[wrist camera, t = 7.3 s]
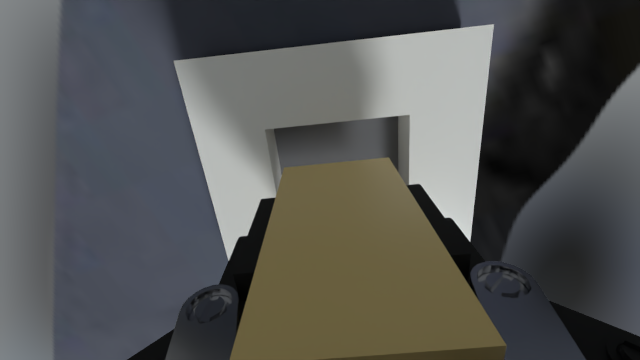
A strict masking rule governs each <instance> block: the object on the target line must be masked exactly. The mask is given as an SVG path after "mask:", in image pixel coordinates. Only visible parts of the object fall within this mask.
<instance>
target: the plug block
mask: <svg viewBox="0 0 640 360" xmlns="http://www.w3.org/2000/svg"><path fill="white" fill-rule="evenodd" d="M506 347H507V345H506V344H505V342H504V340H503V339H502V337H501V336H500V334H499V332H498V331H497V329H496V328H495V326H494V324H493V323H492V321H491V320H490V318H489V316H488V315H487V313H486V312H485V310H484V308H483V307H482V305H481V304H480V302H479V300H478V299H477V297H476V296H475V294H474V293H473V291H472V289H471V288H470V286H469V285H468V283H467V281H466V280H465V278H464V277H463V275H462V273H461V272H460V270H459V269H458V267H457V265H456V264H455V262H454V261H453V259H452V257H451V256H450V254H449V253H448V251H447V249H446V248H445V246H444V245H443V243H442V241H441V240H440V238H439V237H438V235H437V233H436V232H435V230H434V229H433V227H432V226H431V224H430V222H429V221H428V219H427V218H426V216H425V214H424V213H423V211H422V210H421V208H420V206H419V205H418V203H417V202H416V200H415V198H414V197H413V195H412V194H411V192H410V190H409V189H408V187H407V186H406V184H405V182H404V181H403V179H402V178H401V176H400V174H399V173H398V171H397V170H396V168H395V166H394V165H393V163H392V162H391V160H390V158H389V157H388V158H377V159H367V160H357V161H347V162H336V163H326V164H316V165H306V166H295V167H285V168H284V170H283V173H282V177H281V180H280V184H279V187H278V191H277V194H276V198H275V201H274V205H273V208H272V212H271V215H270V219H269V222H268V226H267V229H266V233H265V237H264V240H263V244H262V247H261V251H260V254H259V258H258V261H257V265H256V268H255V272H254V275H253V279H252V282H251V286H250V289H249V293H248V296H247V300H246V303H245V307H244V310H243V314H242V317H241V321H240V325H239V328H238V332H237V335H236V339H235V342H234V346H233V349H232V353H231V356H230V360H504V357H505V352H506Z"/></svg>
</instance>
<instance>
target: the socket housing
mask: <svg viewBox="0 0 640 360" xmlns="http://www.w3.org/2000/svg"><path fill="white" fill-rule="evenodd" d="M493 27H494V24H492V25H484V26H475V27H466V28H457V29H448V30H440V31H431V32H422V33H413V34H405V35H396V36H387V37H378V38H370V39H361V40H352V41H343V42H334V43H326V44H317V45H308V46H299V47H291V48H282V49H273V50H264V51H256V52H247V53H238V54H229V55H221V56H212V57H203V58H194V59H185V60H177V61H174V64H175V68H176V72H177V75H178V79H179V83H180V86H181V90H182V93H183V97H184V101H185V104H186V108H187V112H188V115H189V119H190V123H191V126H192V130H193V133H194V137H195V141H196V144H197V148H198V152H199V155H200V159H201V162H202V166H203V170H204V173H205V177H206V181H207V184H208V188H209V191H210V195H211V199H212V202H213V206H214V210H215V213H216V217H217V220H218V224H219V228H220V231H221V235H222V239H223V242H224V246H225V249H226V253H227V257H228V260H229V259H230V257H231V254H232V252H233V249H234V247H235V245H236V242H237V240H238V238H239V237H241V236H247V235H248V233H249V230H250V227H251V225H252V222H253V219H254V217H255V214H256V211H257V209H258V206H259V203H260V201H261V199H266V198H276V194H277V191H278V187H279V184H280V180H281V177H282V173H283V170H284V168H285V167H295V166H306V165H316V164H326V163H336V162H347V161H357V160H367V159H377V158H388V157H389V158H390V160H391V162H392V163H393V165H394V166H395V168H396V170H397V171H398V173H399V174H400V176H401V178H402V179H403V181H404V182H405V184H406V185H412V184H420V185H421V186H422V187H423V189H424V190H425V191H426V193H427V194H428V195H429V197H430V198H431V200H432V201H433V202H434V204H435V205H436V206H437V208H438V209H439V211H440V212H441V213H442V215H443V216H444V217H445V218H448V217H449V218H452V219H453V220H454V222H455V223H456V224H457V226H458V227H459V228H460V230H461V231H462V232H463V233H464V235H465V236H466V237H467V239H468V240H469V241H470V238H471V229H472V220H473V211H474V201H475V192H476V183H477V174H478V165H479V155H480V146H481V137H482V128H483V119H484V110H485V100H486V91H487V82H488V73H489V64H490V55H491V45H492V36H493Z"/></svg>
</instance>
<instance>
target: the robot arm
mask: <svg viewBox="0 0 640 360" xmlns="http://www.w3.org/2000/svg"><path fill="white" fill-rule="evenodd" d="M406 186H407V187H408V189H409V190H410V192H411V194H412V195H413V197H414V198H415V200H416V202H417V203H418V205H419V206H420V208H421V210H422V211H423V213H424V214H425V216H426V218H427V219H428V221H429V222H430V224H431V226H432V227H433V229H434V230H435V232H436V233H437V235H438V237H439V238H440V240H441V241H442V243H443V245H444V246H445V248H446V249H447V251H448V253H449V254H450V256H451V257H452V259H453V261H454V262H455V264H456V265H457V267H458V269H459V270H460V272H461V273H462V275H463V277H464V278H465V280H466V281H467V283H468V285H469V286H470V288H471V289H472V291H473V293H474V294H475V296H476V297H477V299H478V300H479V302H480V304H481V305H482V307H483V308H484V310H485V312H486V313H487V315H488V316H489V318H490V320H491V321H492V323H493V324H494V326H495V328H496V329H497V331H498V332H499V334H500V336H501V337H502V339H503V340H504V342H505V344H506V345H507V347H506V352H505V357H504V360H640V337H639V336H637V335H634V334H631V333H629V332H627V331H624V330H622V329H619V328H617V327H614V326H612V325H609V324H607V323H604V322H601V321H599V320H596V319H594V318H591V317H589V316H586V315H584V314H581V313H579V312H576V311H574V310H571V309H569V308H566V307H564V306H561V305H559V304H556V303H553V302H551V301H549V300H548V299H547V297H546V296H545V294H544V293H543V291H542V289H541V288H540V286H539V285H538V283H537V282H536V280H534V278H533V277H532V276H531V275H530V274H528V273H527V272H526V271H524V270H522V269H520V268H518V267H516V266H514V265H511V264H507V263H504V262H496V261H490V262H485V261H484V259H483V258H482V257H481V256H480V254H479V253H478V252H477V250H476V249H475V248H474V246H473V245H472V244H471V243H470V241H469V240H468V239H467V237H466V236H465V235H464V233H463V232H462V231H461V230H460V228H459V227H458V226H457V224H456V223H455V222H454V220H453V219H452V218H449V217H448V218H445V217H444V216H443V215H442V213H441V212H440V211H439V209H438V208H437V206H436V205H435V204H434V202H433V201H432V200H431V198H430V197H429V195H428V194H427V193H426V191H425V190H424V189H423V187H422V186H421V185H420V184H412V185H406ZM274 201H275V198H266V199H261V201H260V203H259V206H258V209H257V211H256V214H255V217H254V219H253V222H252V225H251V227H250V230H249V233H248V235H247V236H241V237H239V238H238V240H237V242H236V245H235V247H234V249H233V252H232V254H231V257H230V259H229V261H228V264H227V266H226V269H225V271H224V273H223V276H222V278H221V281H220V283H219V285H212V286H209V287H205V288H203V289H201V290H199V291H197V292H196V293H194V294H193V295H192V296H190V297H189V298H188V299H187V300H186V301H185V303H184V304H183V305H182V307H181V309H180V311H179V315H178V318H177V321H176V325H175V328H174V329H173V330H172V331H170V332H169V333H167V334H166V335H164V336H163V337H161V338H160V339H158V340H157V341H155V342H154V343H152V344H150V345H149V346H147V347H146V348H144V349H143V350H141V351H140V352H138V353H137V354H135V355H134V356H132V357H131V358H129V359H128V360H230V356H231V353H232V349H233V346H234V342H235V339H236V335H237V332H238V328H239V325H240V321H241V317H242V314H243V310H244V307H245V303H246V300H247V296H248V293H249V289H250V286H251V282H252V279H253V275H254V272H255V268H256V265H257V261H258V258H259V254H260V251H261V247H262V244H263V240H264V237H265V233H266V229H267V226H268V222H269V219H270V215H271V212H272V208H273V205H274Z"/></svg>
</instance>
